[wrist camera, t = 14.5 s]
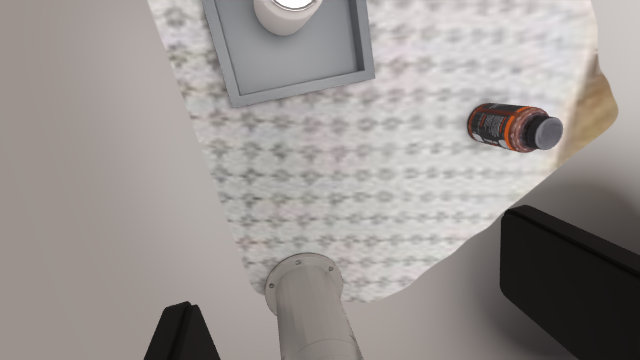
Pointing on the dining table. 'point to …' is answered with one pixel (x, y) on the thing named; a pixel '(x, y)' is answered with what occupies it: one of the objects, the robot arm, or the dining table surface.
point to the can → (284, 14)
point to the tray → (290, 50)
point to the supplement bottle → (515, 127)
